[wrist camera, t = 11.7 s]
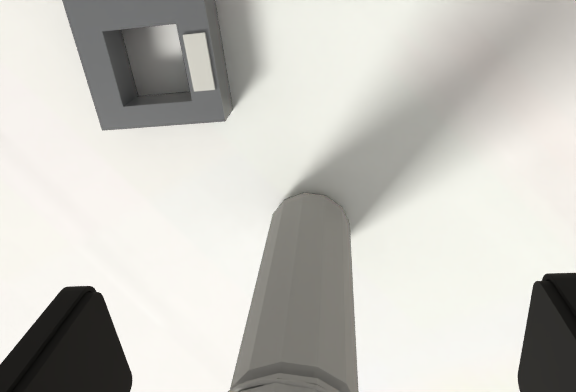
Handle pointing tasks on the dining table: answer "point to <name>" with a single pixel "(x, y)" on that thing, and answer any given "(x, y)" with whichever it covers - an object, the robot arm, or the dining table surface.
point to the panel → (117, 72)
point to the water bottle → (302, 304)
